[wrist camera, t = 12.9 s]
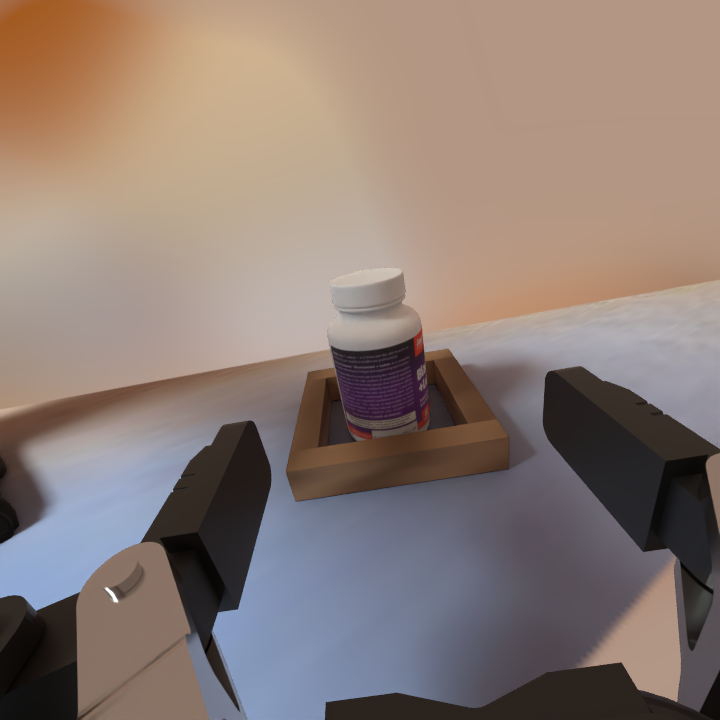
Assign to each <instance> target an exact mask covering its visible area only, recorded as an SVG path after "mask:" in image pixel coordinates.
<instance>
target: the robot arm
mask: <svg viewBox="0 0 720 720" xmlns="http://www.w3.org/2000/svg"><path fill="white" fill-rule="evenodd" d="M543 426H544V430H545V433H546V436H547V438H548V440H549V442H550V443H551V444H552V445H553V447H554V448H555V449H556V450H557V451H558V452H559V454H560V455H561V456H562V457H563V458H564V460H565V461H566V462H567V463H568V464H569V465H570V467H571V468H572V469H573V470H574V471H575V472H576V474H577V475H578V476H579V477H580V478H581V479H582V481H583V482H584V483H585V484H586V485H587V487H588V488H589V489H590V490H591V491H592V492H593V494H594V495H595V496H596V497H597V498H598V499H599V501H600V502H601V503H602V504H603V505H604V506H605V508H606V509H607V510H608V511H609V512H610V513H611V515H612V516H613V517H614V518H615V519H616V521H617V522H618V523H619V524H620V525H621V526H622V528H623V529H624V530H625V531H626V532H627V533H628V535H629V536H630V537H631V538H632V539H633V540H634V542H635V543H636V544H637V545H638V546H639V548H640V549H641V550H642V551H643V552H646V551H653V550H660V549H667V548H669V549H670V550H671V552H672V553H673V554H674V555H675V556H676V557H677V558H676V562H675V565H674V575H675V589H676V601H677V613H678V627H679V639H680V652H681V676H680V683H679V690H678V702H675V701H673V700H670V699H668V698H665V697H662V696H658V695H655V694H652V693H649V692H645V691H641V690H638V689H637V688H636V686H635V684H634V683H633V681H632V679H631V678H630V676H629V674H628V673H627V671H626V669H625V668H624V666H623V664H622V663H614V664H607V665H600V666H592V667H585V668H577V669H570V670H562V671H555V672H548V673H545V674H543V675H542V676H540V677H538V678H536V679H534V680H532V681H530V682H529V683H527V684H525V685H523V686H521V687H519V688H517V689H516V690H514V691H512V692H510V693H508V694H506V695H504V696H503V697H501V698H499V699H497V700H495V701H493V702H491V703H490V704H488V705H486V706H483V707H481V708H468V707H463V706H458V705H453V704H449V703H444V702H439V701H434V700H429V699H424V698H419V697H415V696H410V695H405V694H400V693H392V694H384V695H377V696H369V697H362V698H354V699H347V700H340V701H332V702H326V709H325V720H720V449H719V448H717V447H716V446H714V445H713V444H711V443H710V442H708V441H707V440H705V439H703V438H702V437H700V436H699V435H697V434H696V433H694V432H693V431H691V430H690V429H688V428H687V427H685V426H684V425H682V424H681V423H679V422H678V421H676V420H675V419H673V418H672V417H670V416H669V415H667V414H665V415H664V414H663V412H662V411H661V410H659V409H658V408H656V407H655V406H653V405H652V404H648V403H647V401H646V400H644V399H643V398H641V397H640V396H638V395H637V394H635V393H634V392H632V391H631V390H629V389H626V388H623V387H621V386H618V385H615V384H612V383H610V382H607V381H602V380H601V379H599V378H598V377H596V376H595V375H593V374H592V373H590V372H589V371H588V370H586V369H585V368H583V367H580V366H578V367H572V368H566V369H560V370H554V371H549V372H548V373H547V375H546V378H545V391H544V408H543ZM270 487H271V468H270V464H269V461H268V458H267V455H266V453H265V450H264V447H263V444H262V441H261V439H260V436H259V433H258V430H257V428H256V425H255V424H254V422H253V421H244V422H238V423H232V424H226V425H223V426H222V427H221V429H220V430H219V432H218V434H217V436H216V437H215V439H214V441H213V443H212V445H210V446H206V447H204V448H203V449H202V450H201V451H200V452H199V453H198V454H197V455H196V456H195V457H194V458H193V459H192V460H190V462H189V464H188V465H187V467H186V469H185V470H184V472H183V474H182V475H181V479H179V480H178V482H177V483H176V485H175V487H174V488H173V492H172V493H170V495H169V497H168V498H167V500H166V502H165V503H164V505H163V507H162V508H161V510H160V511H159V513H158V515H157V516H156V518H155V520H154V521H153V523H152V525H151V526H150V528H149V530H148V531H147V533H146V535H145V536H144V538H143V539H142V541H141V543H139V544H136V545H133V546H131V547H128V548H126V549H124V550H122V551H121V552H119V553H117V554H116V555H114V556H113V557H111V558H110V559H109V560H107V561H106V562H105V563H104V564H103V565H101V566H100V567H99V568H98V569H97V570H96V571H95V572H94V573H93V574H92V576H91V577H90V578H89V579H88V581H87V582H86V584H85V585H84V587H83V588H82V590H81V592H79V593H77V594H75V595H72V596H70V597H68V598H65V599H63V600H61V601H58V602H56V603H54V604H51V605H49V606H47V607H44V608H42V609H39V610H37V611H36V610H35V609H34V608H33V607H32V606H31V605H30V604H29V603H28V602H27V601H26V600H25V599H24V597H21V596H16V595H13V596H7V597H3V598H0V720H248V718H247V716H246V713H245V711H244V708H243V706H242V703H241V700H240V698H239V695H238V692H237V690H236V687H235V685H234V682H233V679H232V677H231V674H230V672H229V669H228V666H227V664H226V661H225V659H224V656H223V653H222V651H221V648H220V646H219V643H218V640H217V638H216V635H215V633H214V632H213V630H212V629H213V626H214V623H215V620H216V616H217V613H218V612H223V611H229V610H236V609H238V607H239V603H240V599H241V596H242V592H243V588H244V584H245V581H246V577H247V573H248V569H249V566H250V562H251V558H252V554H253V551H254V547H255V543H256V539H257V536H258V532H259V528H260V525H261V521H262V517H263V513H264V510H265V506H266V502H267V498H268V495H269V491H270Z"/></svg>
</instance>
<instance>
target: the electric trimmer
mask: <svg viewBox="0 0 720 720" xmlns="http://www.w3.org/2000/svg"><path fill="white" fill-rule="evenodd" d="M5 472H6V466H5V463H4V462H3V460H2V459H1V457H0V477H1V476H2V475H3V474H4V473H5ZM18 526H19V522H18V518H17V515H16V512H15V510H14V508H13V507H12V506H11V504H10V503H9V502H7V501H6V500H5V499H4V498H2V497H1V494H0V544H1V543H3V542H4V541H6V540H8V539H10V538H11V536H12V534H13V533H14V530H15V529H16V528H17V527H18Z"/></svg>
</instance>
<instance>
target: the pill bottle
mask: <svg viewBox="0 0 720 720" xmlns="http://www.w3.org/2000/svg"><path fill="white" fill-rule="evenodd" d="M330 288H331V294H332V302H333V304H334V308H335V309H336V310H338V311H339V315H338V316H337V317H335V318H334V319H333V320H332V321H331V323H330V325H329V327H328V340H329V345H330V350H331V354H332V359H333V363H334V368H335V372H336V377H337V381H338V386H339V391H340V395H341V400H342V404H343V409H344V414H345V418H346V423H347V427H348V430H349V433H350V435H351V436H352V437H353V438H354V439H355V440H356V441H362V440H369V439H375V438H381V437H388V436H394V435H400V434H407V433H413V432H419V431H425V430H427V428H428V426H429V423H430V406H429V396H428V385H427V375H426V366H425V355H424V345H423V335H422V325H421V320H420V317H419V315H418V313H417V312H416V311H415V310H414V309H412V308H411V307H409V306H406V305H404V304H402V301H403V299H404V298H405V292H406V291H405V285H404V276H403V271H402V270H401V269H397V268H378V269H377V268H376V269H369V270H362V271H357V272H353V273H349V274H346V275H342V276H340V277H338V278H335V279H334V280H332V281H331V282H330Z"/></svg>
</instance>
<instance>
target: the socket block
mask: <svg viewBox="0 0 720 720" xmlns="http://www.w3.org/2000/svg"><path fill="white" fill-rule="evenodd" d="M424 355H425V366H426V375H427V385H431V384H436V386H437V388H438V390H439V392H440V394H441V396H442V398H443V400H444V402H445V404H446V406H447V408H448V410H449V412H450V415H451V417H452V419H453V421H454V423H455V425H456V426H451V427H444V428H438V429H432V430H425V431H419V432H413V433H407V434H400V435H394V436H388V437H381V438H375V439H369V440H362V441H356V442H350V443H344V444H337V445H331V446H328V439H329V426H330V413H331V401H333V400H339V399H341V395H340V391H339V386H338V381H337V377H336V372H335V368H330V369H324V370H318V371H312V372H308V375H307V380H306V384H305V389H304V393H303V397H302V402H301V406H300V411H299V415H298V420H297V424H296V428H295V433H294V437H293V442H292V446H291V450H290V455H289V459H288V464H287V468H286V474H287V477H288V480H289V483H290V486H291V489H292V492H293V495H294V498H295V501H301V500H308V499H314V498H321V497H327V496H334V495H340V494H347V493H353V492H360V491H367V490H373V489H380V488H386V487H393V486H399V485H406V484H412V483H419V482H425V481H432V480H438V479H445V478H452V477H458V476H465V475H471V474H478V473H484V472H491V471H497V470H504V469H509V436H508V434H507V433H506V432H505V430H504V429H503V427H502V426H501V424H500V423H499V421H498V420H497V418H496V417H495V416H494V414H493V413H492V411H491V410H490V408H489V407H488V405H487V404H486V403H485V401H484V400H483V398H482V397H481V395H480V394H479V392H478V391H477V389H476V388H475V387H474V385H473V384H472V382H471V381H470V379H469V378H468V376H467V375H466V373H465V372H464V371H463V369H462V368H461V366H460V365H459V363H458V362H457V360H456V359H455V358H454V356H453V355H452V353H451V352H450V350H449V349H443V350H438V351H432V352H426V353H424Z"/></svg>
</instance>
